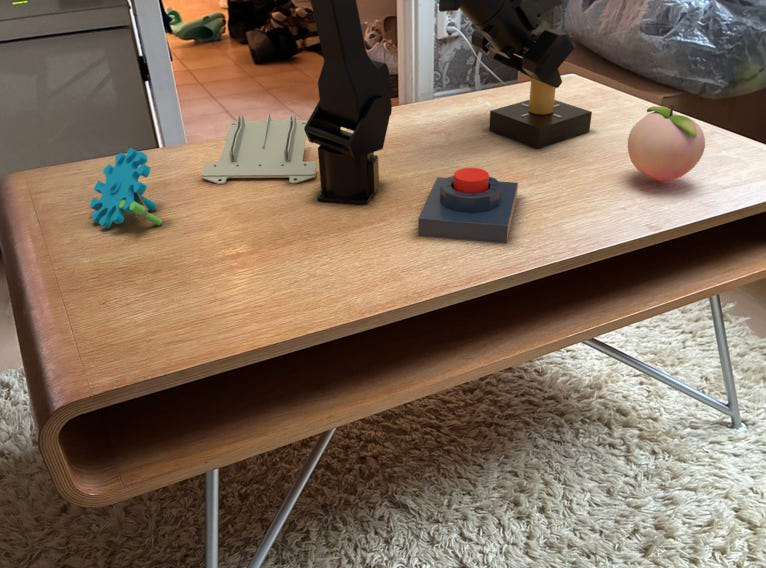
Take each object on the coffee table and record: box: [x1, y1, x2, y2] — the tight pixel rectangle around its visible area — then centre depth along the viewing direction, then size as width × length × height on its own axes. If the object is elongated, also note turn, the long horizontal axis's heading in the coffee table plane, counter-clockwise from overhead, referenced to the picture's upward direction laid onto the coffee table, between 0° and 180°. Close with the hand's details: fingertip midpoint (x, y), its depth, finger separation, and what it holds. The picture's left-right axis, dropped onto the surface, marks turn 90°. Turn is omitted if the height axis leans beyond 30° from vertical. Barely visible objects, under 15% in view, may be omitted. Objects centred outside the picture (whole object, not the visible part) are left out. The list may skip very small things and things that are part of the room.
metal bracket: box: [201, 111, 318, 185], centre depth 104 cm, size 14×6×15 cm
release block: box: [417, 174, 519, 244], centre depth 89 cm, size 12×10×4 cm
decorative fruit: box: [627, 103, 706, 184], centre depth 94 cm, size 9×8×10 cm
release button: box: [453, 167, 490, 194], centre depth 88 cm, size 4×4×2 cm
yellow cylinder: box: [528, 77, 557, 115], centre depth 109 cm, size 4×4×8 cm
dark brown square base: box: [488, 99, 593, 150], centre depth 113 cm, size 11×10×3 cm
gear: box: [89, 147, 163, 229], centre depth 91 cm, size 11×6×10 cm
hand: (551, 81), depth 110 cm, fingers closed on yellow cylinder, 4 cm apart
